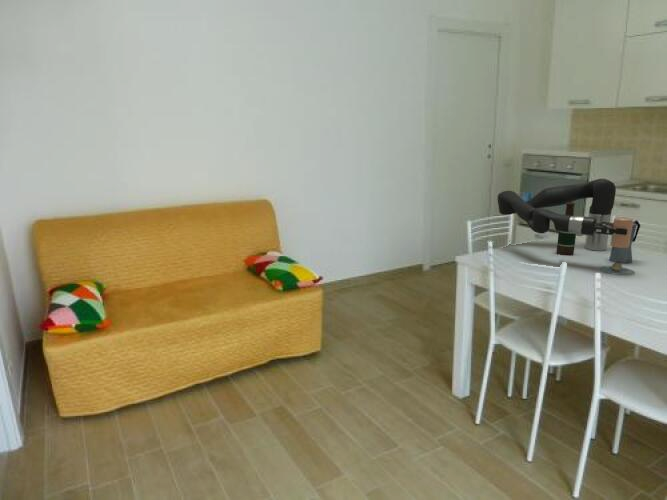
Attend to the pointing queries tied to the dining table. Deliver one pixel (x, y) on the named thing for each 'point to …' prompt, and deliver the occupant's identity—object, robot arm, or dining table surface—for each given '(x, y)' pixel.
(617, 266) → the ball
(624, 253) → the moka pot
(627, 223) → the cup
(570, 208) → the beer bottle
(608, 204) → the robot arm
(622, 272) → the plate
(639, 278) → the dining table surface
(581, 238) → the dining table surface
